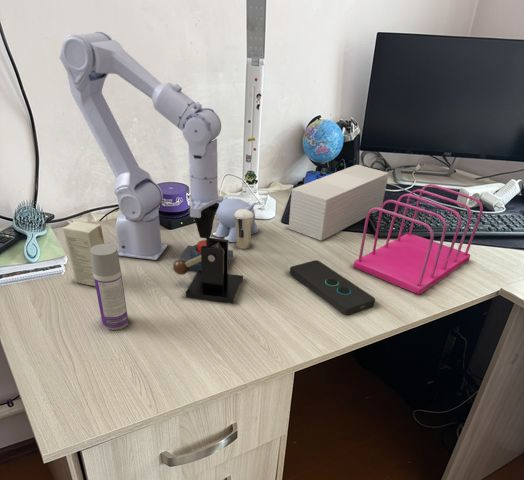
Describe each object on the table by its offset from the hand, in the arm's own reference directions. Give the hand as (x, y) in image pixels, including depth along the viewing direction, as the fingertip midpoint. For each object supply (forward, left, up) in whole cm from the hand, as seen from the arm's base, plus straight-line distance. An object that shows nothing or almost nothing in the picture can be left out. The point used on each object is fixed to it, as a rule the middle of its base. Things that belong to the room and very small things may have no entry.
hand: (205, 236), depth 108 cm
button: (0, 0, -3) cm, 3 cm away
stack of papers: (+29, +36, -7) cm, 47 cm away
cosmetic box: (-21, -14, -7) cm, 26 cm away
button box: (0, 0, -6) cm, 6 cm away
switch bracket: (+5, -11, -6) cm, 14 cm away
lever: (+2, -11, -1) cm, 11 cm away
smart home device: (+29, -5, -7) cm, 30 cm away
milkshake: (+7, +11, -7) cm, 15 cm away
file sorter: (+48, +12, -7) cm, 50 cm away
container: (-10, -28, -7) cm, 30 cm away
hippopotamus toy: (+2, +19, -7) cm, 20 cm away
